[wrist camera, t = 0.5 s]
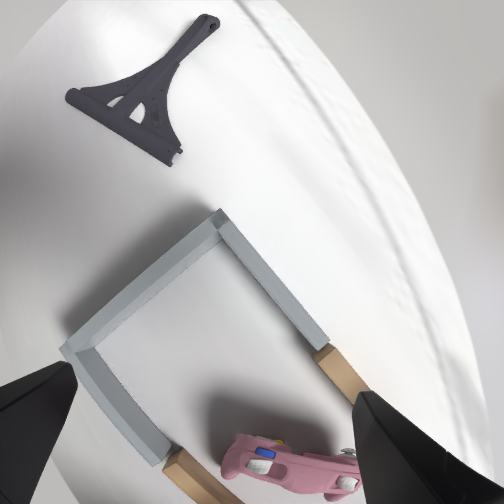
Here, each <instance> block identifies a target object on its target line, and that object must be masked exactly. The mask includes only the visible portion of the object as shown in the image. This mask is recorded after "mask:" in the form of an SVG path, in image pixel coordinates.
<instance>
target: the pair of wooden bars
mask: <svg viewBox="0 0 504 504" xmlns="http://www.w3.org/2000/svg"><path fill="white" fill-rule="evenodd" d="M311 357H312V358H313V359H314V360H315V361H316V363H317V364H318V365H319V366H320V367H321V368H322V370H323V371H324V372H325V373H326V374H327V375H328V377H329V378H330V379H331V380H332V381H333V382H334V384H335V385H336V386H337V387H338V388H339V389H340V391H341V392H342V393H343V394H344V395H345V396H346V397H347V399H348V400H349V401H350V402H351V403H352V404H353V405H354V404H355V401H356V398H357V395H358V393H359V392H360V391H364V390H370V388H369V387H368V386H367V385H366V384H365V382H364V381H363V380H362V379H361V377H360V376H359V375H358V374H357V373H356V371H355V370H354V369H353V368H352V367H351V365H350V364H349V363H348V362H347V361H346V359H345V358H344V357H343V356H342V355H341V353H340V352H339V351H338V350H337V348H335V347H334V346H332V345H331V344H329V343H327V344H326V345H325V346H323V347H322V348H321V349H320V350H319V351H316V352H315V353H314V354H313V355H312V356H311ZM162 472H163V473H164V474H165V475H166V476H167V477H168V478H169V479H170V480H171V481H172V482H173V483H175V484H176V485H177V486H178V487H179V488H180V489H181V490H182V491H183V492H184V493H186V494H187V495H188V496H189V497H190V498H191V499H192V500H194V501H195V502H196V503H197V504H244V503H243V502H242V501H241V500H240V499H238V498H237V497H236V496H235V495H234V494H232V493H231V492H230V491H229V490H228V489H227V488H225V487H224V486H223V485H222V484H221V483H220V482H219V481H218V480H216V479H215V478H214V477H213V476H212V475H211V474H210V473H209V472H208V471H207V470H206V469H205V468H203V467H202V466H201V465H200V464H199V463H198V462H197V461H196V460H195V459H194V458H193V457H192V456H191V455H190V454H189V453H188V452H187V451H186V450H185V449H184V448H183V449H181V450H179V451H178V452H176V453H174V454H173V455H171V456H170V457H169V459H168V461H167V462H166V464H165V466H164V468H163V469H162Z"/></svg>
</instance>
